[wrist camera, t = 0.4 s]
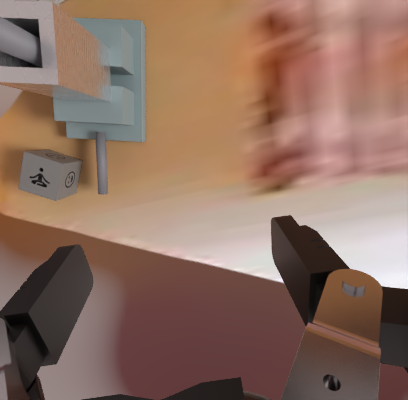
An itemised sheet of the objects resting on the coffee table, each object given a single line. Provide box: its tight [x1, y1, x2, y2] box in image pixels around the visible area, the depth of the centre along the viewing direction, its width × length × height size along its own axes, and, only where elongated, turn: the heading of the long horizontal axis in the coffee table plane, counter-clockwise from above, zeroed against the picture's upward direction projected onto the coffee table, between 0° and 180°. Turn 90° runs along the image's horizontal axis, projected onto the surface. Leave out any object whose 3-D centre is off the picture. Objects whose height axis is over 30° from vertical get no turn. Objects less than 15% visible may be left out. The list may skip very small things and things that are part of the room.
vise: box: [0, 17, 146, 194], centre depth 26 cm, size 21×10×19 cm, turn 177°
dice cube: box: [19, 150, 83, 201], centre depth 35 cm, size 5×5×5 cm
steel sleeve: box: [0, 0, 111, 102], centre depth 24 cm, size 5×5×10 cm
